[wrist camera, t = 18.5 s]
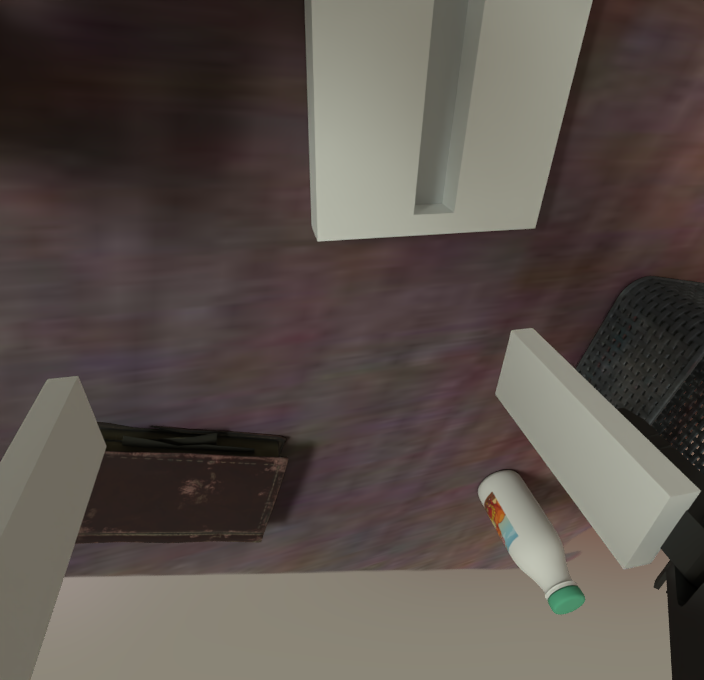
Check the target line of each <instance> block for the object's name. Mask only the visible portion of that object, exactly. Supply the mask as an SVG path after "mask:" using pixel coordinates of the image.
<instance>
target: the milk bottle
mask: <svg viewBox="0 0 704 680" xmlns="http://www.w3.org/2000/svg"><path fill="white" fill-rule="evenodd" d="M478 496H479V498H480V500H481V502H482V504H483V506H484V508H485V510H486V512H487V513H488V515H489V517H490V519H491V521H492V523H493V525H494V527H495V528H496V530H497V532H498V534H499V536H500V538H501V539H502V541H503V543H504V545H505V547H506V548H507V550H508V552H509V554H510V555H511V557H512V559H513V560H514V561H515V563H516V564H517V565H518V566H519V568H520V569H521V570H522V571H524V572H525V573H526V574H527V575H528V576H529V577H531V578H532V579H533V580H534V581H535V582H536V583H537V584H538V585H539V586H540V587H541V588H542V590H543V591H544V592H545V598H546V599H547V600H548V603H549V605H550V607H551V609H552V610H553V612H554V613H556V614H566V613H569V612H572V611H574V610H576V609H577V608H579V607H580V606H581V605H582V604H583V603H584V601H585V596H584V594H583V593H582V591H581V590H580V588H579V587H578V586H577V583H576V582H574V581H573V580H572V579H571V577H570V574H569V571H568V568H567V564H566V559H565V553H564V548H563V545H562V542H561V540H560V538H559V536H558V534H557V532H556V531H555V529H554V527H553V526H552V524H551V522H550V521H549V519H548V518H547V516H546V514H545V513H544V511H543V510H542V508H541V507H540V505H539V504H538V502H537V501H536V499H535V497H534V496H533V494H532V493H531V491H530V490H529V488H528V487H527V485H526V484H525V482H524V481H523V479H522V478H521V476H520V475H519V474H518V473H516V472H515V471H512V470H502V471H498V472H495V473H493V474H491V475H489V476H488V477H487V478H485V479H484V480H483V481H482V482H481V484H480V486H479V488H478Z"/></svg>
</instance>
